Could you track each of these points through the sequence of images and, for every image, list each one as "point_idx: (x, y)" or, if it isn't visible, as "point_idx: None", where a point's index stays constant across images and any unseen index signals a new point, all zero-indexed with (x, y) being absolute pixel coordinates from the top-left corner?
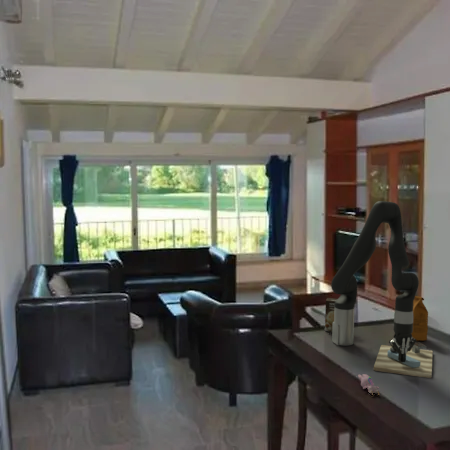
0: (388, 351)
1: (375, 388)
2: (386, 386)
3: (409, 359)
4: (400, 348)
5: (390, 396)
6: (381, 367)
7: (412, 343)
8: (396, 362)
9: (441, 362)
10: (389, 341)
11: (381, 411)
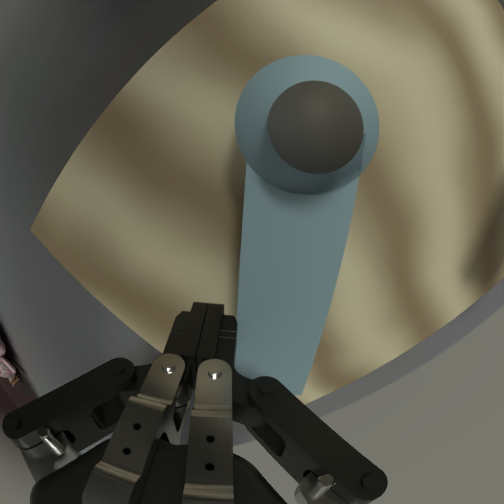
0: (257, 87)
1: (4, 377)
2: (47, 360)
3: (267, 350)
4: (177, 397)
5: (44, 391)
6: (64, 258)
7: (301, 479)
8: (221, 236)
9: (491, 302)
10: (5, 427)
11: (18, 401)
